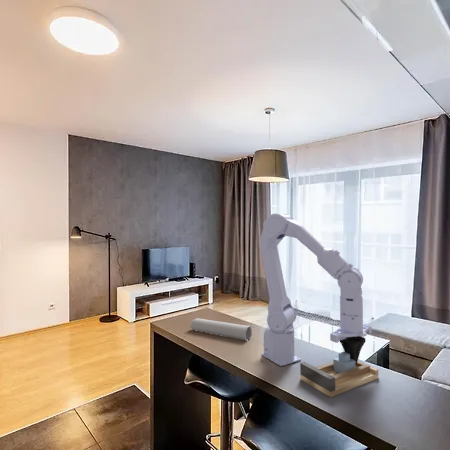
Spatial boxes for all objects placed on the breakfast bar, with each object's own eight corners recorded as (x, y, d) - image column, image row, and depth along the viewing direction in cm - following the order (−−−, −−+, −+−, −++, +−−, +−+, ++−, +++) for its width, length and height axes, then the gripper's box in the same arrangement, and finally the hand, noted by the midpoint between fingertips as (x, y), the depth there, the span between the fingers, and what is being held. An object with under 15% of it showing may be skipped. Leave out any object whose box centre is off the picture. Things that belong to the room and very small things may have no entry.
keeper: (333, 370, 81) (333, 352, 81) (343, 367, 83) (343, 349, 83) (345, 376, 78) (345, 357, 78) (355, 372, 80) (355, 354, 80)
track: (300, 379, 79) (300, 363, 80) (346, 363, 88) (346, 349, 88) (330, 397, 71) (330, 379, 71) (378, 378, 80) (378, 362, 80)
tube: (186, 322, 117) (244, 331, 105) (194, 314, 122) (250, 322, 109) (189, 333, 119) (246, 344, 106) (196, 325, 123) (252, 335, 111)
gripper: (345, 321, 75) (346, 376, 75) (381, 312, 82) (382, 362, 82) (323, 314, 81) (324, 365, 81) (358, 307, 88) (359, 353, 88)
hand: (352, 363), depth 82 cm, fingers closed
